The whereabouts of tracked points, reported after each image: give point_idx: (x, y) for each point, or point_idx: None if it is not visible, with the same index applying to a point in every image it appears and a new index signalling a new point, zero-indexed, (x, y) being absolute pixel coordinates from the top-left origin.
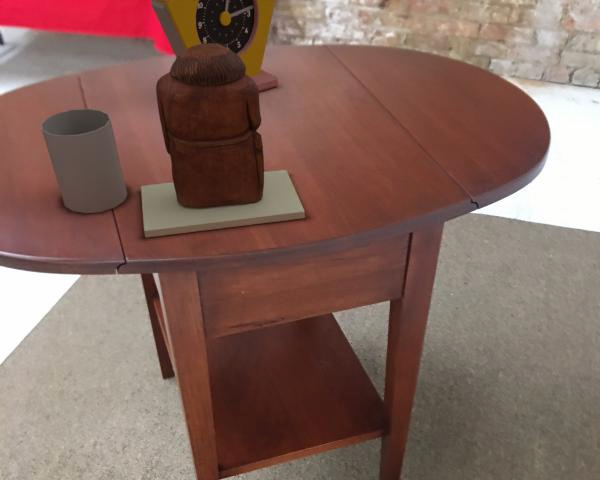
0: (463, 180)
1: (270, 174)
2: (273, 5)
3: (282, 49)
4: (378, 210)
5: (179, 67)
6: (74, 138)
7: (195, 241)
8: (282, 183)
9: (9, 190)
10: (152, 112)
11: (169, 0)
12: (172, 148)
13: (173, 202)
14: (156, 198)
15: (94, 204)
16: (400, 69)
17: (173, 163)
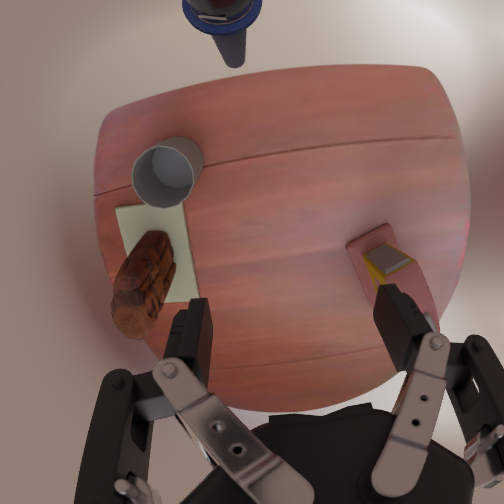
0: None
1: (192, 291)
2: None
3: (440, 308)
4: (154, 334)
5: (114, 301)
6: (133, 180)
7: (114, 238)
8: (178, 296)
9: (202, 85)
10: (353, 202)
11: (385, 282)
12: (129, 254)
13: (152, 226)
14: (158, 214)
15: (151, 167)
16: (364, 372)
17: (134, 247)
